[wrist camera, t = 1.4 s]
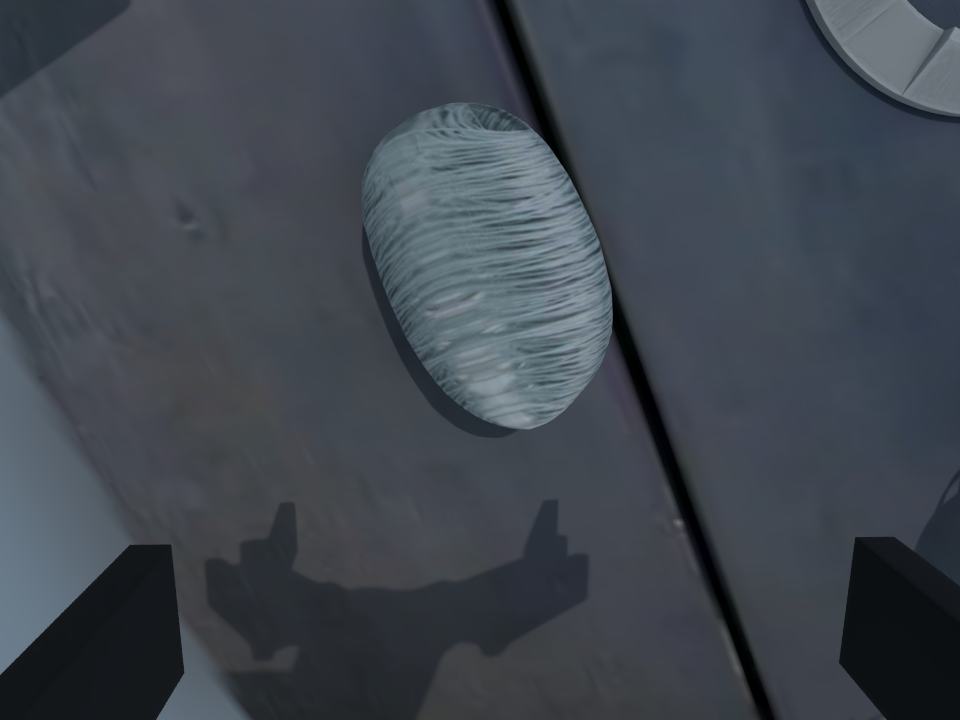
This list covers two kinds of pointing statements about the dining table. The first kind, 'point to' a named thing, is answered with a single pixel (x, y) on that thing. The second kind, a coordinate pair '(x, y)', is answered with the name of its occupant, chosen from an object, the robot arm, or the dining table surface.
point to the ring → (895, 50)
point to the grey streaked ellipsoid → (488, 261)
